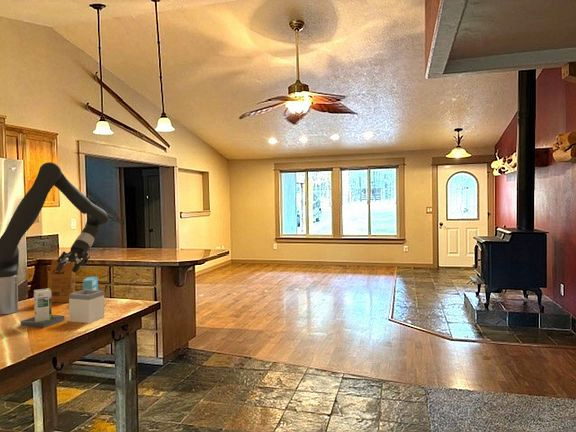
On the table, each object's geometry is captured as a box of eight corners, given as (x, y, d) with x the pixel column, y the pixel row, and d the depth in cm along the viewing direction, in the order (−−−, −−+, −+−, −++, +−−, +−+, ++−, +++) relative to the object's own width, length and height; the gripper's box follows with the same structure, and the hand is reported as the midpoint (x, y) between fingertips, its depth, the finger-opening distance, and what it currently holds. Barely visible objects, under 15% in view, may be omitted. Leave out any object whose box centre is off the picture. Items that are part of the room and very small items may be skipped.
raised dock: (69, 321, 185) (69, 294, 185) (85, 315, 195) (85, 289, 195) (89, 323, 183) (88, 295, 183) (104, 316, 193) (104, 290, 192)
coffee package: (53, 299, 227) (52, 258, 226) (78, 298, 229) (77, 257, 228) (45, 303, 217) (45, 260, 216) (71, 302, 219) (71, 260, 218)
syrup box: (36, 325, 178) (36, 291, 178) (34, 322, 183) (33, 289, 183) (52, 323, 182) (51, 289, 182) (49, 320, 187) (48, 287, 186)
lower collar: (20, 325, 178) (20, 321, 178) (42, 318, 190) (42, 314, 189) (43, 327, 176) (43, 323, 176) (64, 320, 187) (64, 315, 187)
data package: (92, 303, 218) (92, 280, 217) (82, 303, 217) (82, 280, 217) (98, 298, 230) (98, 276, 229) (89, 298, 229) (89, 276, 228)
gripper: (66, 238, 205) (48, 265, 194) (91, 239, 201) (74, 267, 191) (74, 248, 210) (57, 275, 199) (99, 249, 207) (83, 276, 196)
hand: (65, 271), depth 195 cm, fingers open, 8 cm apart
